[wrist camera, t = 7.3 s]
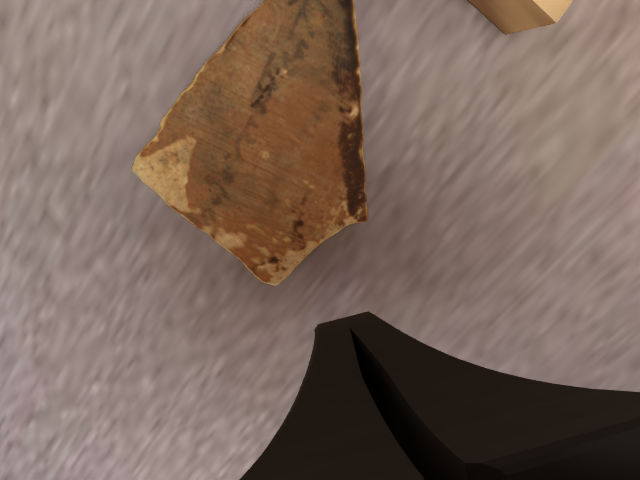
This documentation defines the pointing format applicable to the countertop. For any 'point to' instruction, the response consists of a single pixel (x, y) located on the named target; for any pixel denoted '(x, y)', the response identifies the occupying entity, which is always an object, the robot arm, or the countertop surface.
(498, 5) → the oak ledge
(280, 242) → the shard
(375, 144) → the countertop surface
